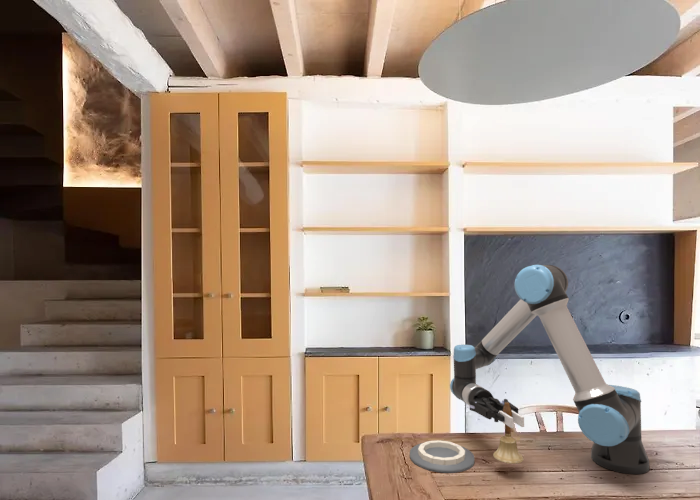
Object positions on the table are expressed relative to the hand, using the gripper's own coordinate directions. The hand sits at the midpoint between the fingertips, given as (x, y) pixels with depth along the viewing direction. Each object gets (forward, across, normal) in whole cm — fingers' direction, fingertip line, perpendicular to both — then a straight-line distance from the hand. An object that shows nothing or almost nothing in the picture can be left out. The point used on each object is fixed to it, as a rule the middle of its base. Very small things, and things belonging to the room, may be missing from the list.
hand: (517, 422), depth 122 cm
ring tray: (-19, +15, -16) cm, 29 cm away
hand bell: (-5, 0, -12) cm, 13 cm away
